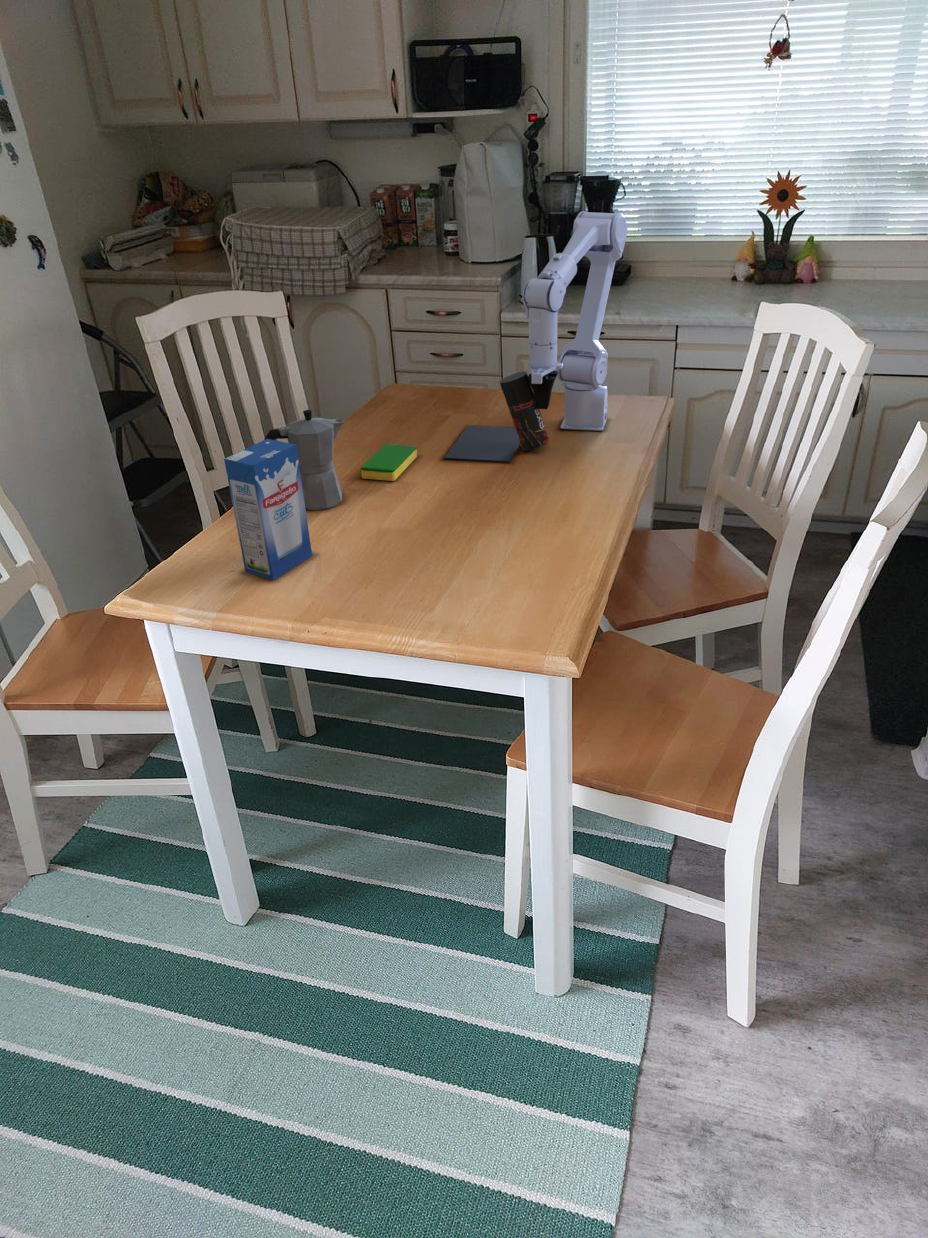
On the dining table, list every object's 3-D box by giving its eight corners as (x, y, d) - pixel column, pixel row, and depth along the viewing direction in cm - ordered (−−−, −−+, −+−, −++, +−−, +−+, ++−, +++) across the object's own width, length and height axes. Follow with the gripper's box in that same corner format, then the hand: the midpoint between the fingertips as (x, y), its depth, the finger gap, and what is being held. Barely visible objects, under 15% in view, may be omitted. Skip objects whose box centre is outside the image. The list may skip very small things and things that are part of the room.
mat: (528, 429, 205) (528, 428, 205) (509, 462, 189) (509, 461, 189) (467, 426, 209) (467, 425, 208) (444, 459, 192) (444, 457, 192)
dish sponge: (361, 478, 185) (360, 467, 184) (386, 454, 196) (385, 443, 195) (394, 481, 183) (393, 470, 182) (417, 456, 194) (417, 445, 193)
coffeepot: (343, 485, 183) (333, 396, 173) (360, 501, 175) (350, 410, 166) (268, 502, 177) (253, 411, 168) (282, 519, 170) (267, 426, 160)
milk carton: (273, 580, 150) (253, 465, 139) (245, 572, 153) (223, 458, 142) (312, 555, 157) (296, 444, 146) (285, 547, 160) (267, 438, 149)
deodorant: (547, 445, 191) (524, 376, 185) (520, 452, 194) (497, 385, 187) (551, 435, 196) (528, 368, 190) (525, 443, 198) (502, 377, 192)
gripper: (556, 352, 177) (556, 420, 184) (568, 332, 188) (567, 397, 195) (520, 351, 178) (521, 418, 185) (534, 332, 190) (534, 396, 197)
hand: (542, 407), depth 190 cm, fingers closed
